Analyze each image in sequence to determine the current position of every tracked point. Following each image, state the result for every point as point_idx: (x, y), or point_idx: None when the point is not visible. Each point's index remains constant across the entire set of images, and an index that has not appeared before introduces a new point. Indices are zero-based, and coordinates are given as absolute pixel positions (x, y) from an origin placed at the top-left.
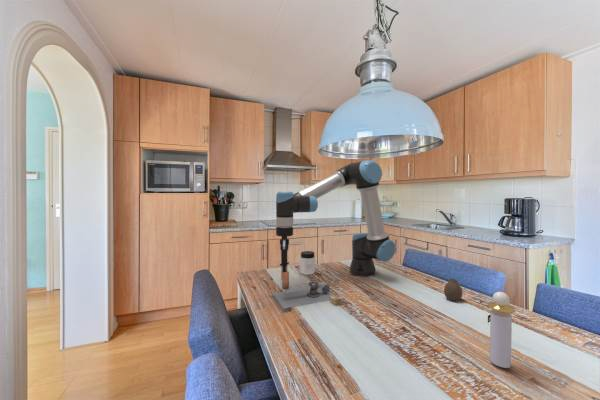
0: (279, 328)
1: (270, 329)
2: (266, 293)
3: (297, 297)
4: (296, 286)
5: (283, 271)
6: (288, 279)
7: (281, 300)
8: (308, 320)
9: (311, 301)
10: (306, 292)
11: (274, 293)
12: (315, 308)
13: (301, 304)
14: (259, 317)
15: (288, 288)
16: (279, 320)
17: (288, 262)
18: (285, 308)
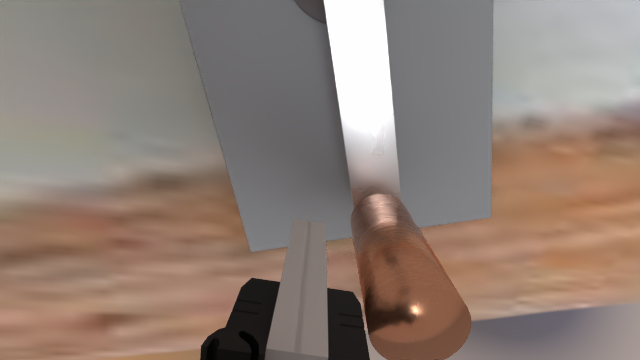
0: (633, 244)
1: (620, 279)
2: (205, 268)
3: None
4: (361, 124)
5: (377, 345)
6: (425, 242)
7: None
8: (636, 90)
9: (455, 13)
10: (274, 14)
11: (257, 241)
12: (506, 2)
13: (478, 101)
14: (489, 312)
15: (400, 202)
16: (559, 236)
17: (206, 353)
18: (489, 205)
